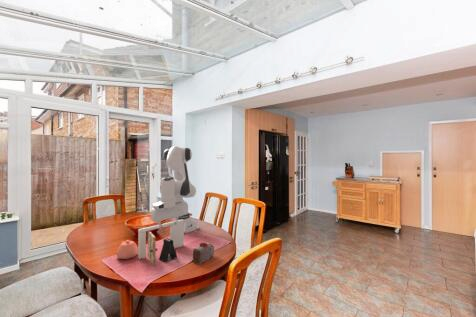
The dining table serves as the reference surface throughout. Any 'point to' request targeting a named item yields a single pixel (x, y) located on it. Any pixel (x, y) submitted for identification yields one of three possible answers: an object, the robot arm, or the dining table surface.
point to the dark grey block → (203, 252)
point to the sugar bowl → (127, 250)
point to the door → (151, 247)
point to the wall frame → (175, 235)
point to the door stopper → (167, 251)
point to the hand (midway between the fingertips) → (168, 225)
